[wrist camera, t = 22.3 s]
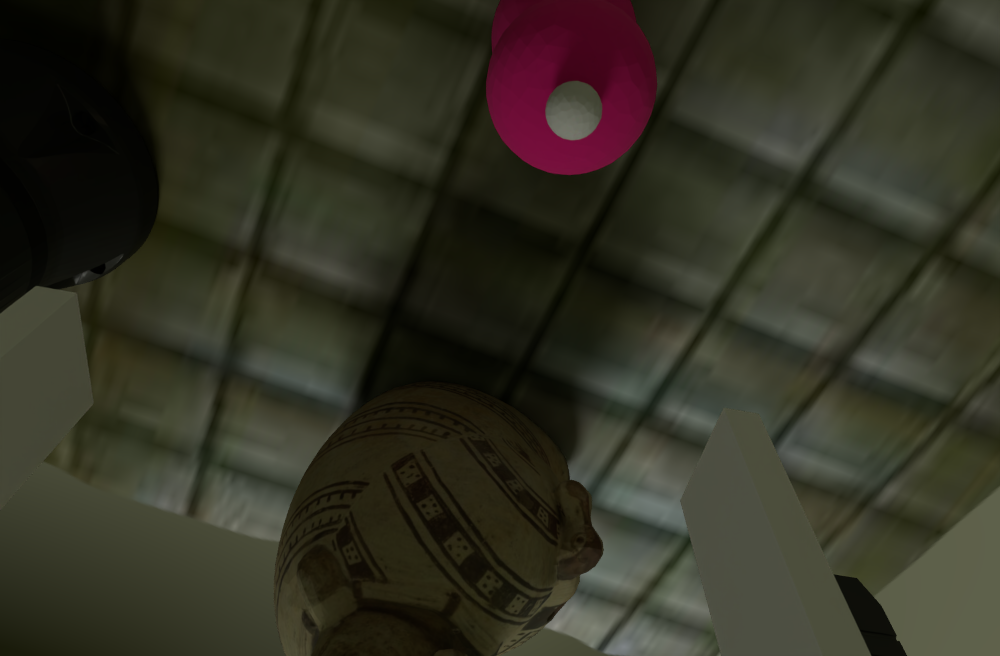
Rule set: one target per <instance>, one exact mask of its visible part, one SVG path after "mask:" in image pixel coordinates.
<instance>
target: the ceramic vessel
mask: <svg viewBox="0 0 1000 656" xmlns="http://www.w3.org/2000/svg"><path fill="white" fill-rule="evenodd" d="M591 509H592V497H591V495H590V493H589V492H588V491H587V490H586V489H585V487H584V486H583V485H582V484H581V483H579V482H577V481H574V480H570V476H569V469H568V465H567V462H566V459H565V457H564V456H563V454H562V452H561V451H560V449H559V448H558V447H557V445H556V444H555V443H554V442H553V441H552V440H551V438H550V437H549V436H548V435H547V434H546V433H545V432H544V431H542V430H541V429H540V428H539V427H538V426H537V425H535V424H534V423H533V422H532V421H531V420H530V419H528V418H527V417H526V416H525V415H523V414H522V413H521V412H519V411H518V410H516V409H515V408H513V407H512V406H510V405H508V404H506V403H504V402H503V401H501V400H499V399H497V398H495V397H493V396H491V395H488V394H486V393H483V392H481V391H478V390H476V389H473V388H469V387H466V386H462V385H459V384H455V383H448V382H435V381H425V382H415V383H411V384H408V385H404V386H400V387H396V388H393V389H391V390H389V391H387V392H385V393H383V394H381V395H379V396H377V397H376V398H374V399H372V400H370V401H369V402H367V403H366V404H365V405H363V406H362V407H361V408H360V409H358V410H357V411H356V412H354V413H353V414H352V415H351V416H350V417H349V418H348V419H346V420H345V421H344V422H343V423H342V424H341V425H340V427H339V428H338V429H337V430H336V431H335V432H334V433H333V434H332V435H331V436H330V437H329V439H328V440H327V441H326V442H325V444H324V445H323V446H322V447H321V449H320V450H319V452H318V453H317V455H316V456H315V458H314V459H313V461H312V462H311V464H310V465H309V467H308V469H307V470H306V472H305V474H304V476H303V478H302V479H301V482H300V484H299V486H298V488H297V490H296V493H295V495H294V497H293V499H292V502H291V504H290V507H289V510H288V514H287V517H286V520H285V523H284V526H283V530H282V534H281V538H280V542H279V547H278V553H277V558H276V564H275V576H274V607H275V616H276V624H277V629H278V633H279V638H280V642H281V645H282V647H283V650H284V652H285V654H286V656H499V655H501V654H503V653H506V652H508V651H510V650H512V649H514V648H516V647H518V646H520V645H522V644H523V643H524V642H526V641H527V640H529V639H530V638H532V637H533V636H534V635H536V634H537V633H538V632H539V631H540V630H541V629H542V628H544V626H545V625H546V624H547V623H549V622H550V621H551V620H552V619H553V617H554V616H555V615H556V613H557V612H558V611H559V610H560V609H561V608H562V607H563V606H564V604H565V603H566V602H567V601H568V600H569V599H570V598H571V597H572V596H573V595H574V593H575V591H576V589H577V586H578V584H579V582H580V575H581V574H583V573H586V572H588V571H589V570H591V569H592V568H593V567H595V566H596V564H597V563H598V561H599V560H600V558H601V557H602V555H603V551H604V549H603V542H602V540H601V538H600V537H599V535H598V534H597V532H596V531H595V529H594V528H593V527H592V523H591V517H590V516H591Z"/></svg>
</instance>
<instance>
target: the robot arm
mask: <svg viewBox="0 0 1000 656" xmlns="http://www.w3.org/2000/svg"><path fill="white" fill-rule="evenodd" d="M157 203H158V193H157V182H156V176H155V172H154V168H153V164H152V161H151V158H150V155H149V153H148V150H147V148H146V146H145V143H144V141H143V140H142V138H141V136H140V134H139V132H138V130H137V129H136V127H135V125H134V124H133V122H132V121H131V119H130V118H129V116H128V115H127V114H126V113H125V111H124V110H123V109H122V107H121V106H120V105H119V104H118V103H117V101H116V100H115V99H114V98H113V97H112V96H111V95H110V94H109V93H108V92H107V91H106V90H105V89H104V88H103V87H102V86H101V85H100V84H99V83H97V82H96V81H95V80H94V79H93V78H91V77H90V76H89V75H87V74H86V73H85V72H84V71H82V70H81V69H79V68H78V67H76V66H75V65H73V64H72V63H70V62H68V61H67V60H65V59H63V58H61V57H59V56H57V55H55V54H53V53H51V52H49V51H46V50H44V49H41V48H39V47H36V46H33V45H30V44H26V43H22V42H18V41H13V40H6V39H0V510H1V509H2V508H3V507H4V505H5V504H6V503H7V502H8V501H9V500H10V499H11V497H12V496H13V495H14V494H15V493H16V492H17V491H18V489H19V488H20V487H21V486H22V485H23V484H24V482H25V481H26V480H27V479H28V478H29V477H30V475H31V474H32V473H33V472H34V471H35V470H36V469H37V467H38V466H39V465H40V464H41V463H42V462H43V461H44V460H45V458H46V457H47V456H48V455H49V454H50V453H51V452H52V450H53V449H54V448H55V447H56V446H57V445H58V444H59V442H60V441H61V440H62V439H63V438H64V437H65V436H66V434H67V433H68V432H69V431H70V430H71V429H72V428H73V426H74V425H75V424H76V423H77V422H78V421H79V420H80V418H81V417H82V416H83V415H84V414H85V413H86V412H87V410H88V409H89V408H90V407H91V406H92V405H93V396H92V389H91V383H90V376H89V370H88V363H87V356H86V350H85V343H84V337H83V330H82V324H81V317H80V310H79V304H78V297H77V293H74V292H68V291H62V290H58V289H62V288H67V287H71V286H75V285H79V284H83V283H87V282H90V281H93V280H96V279H98V278H100V277H102V276H104V275H106V274H108V273H110V272H111V271H113V270H114V269H116V268H117V267H118V266H119V265H121V264H122V263H123V262H124V261H126V260H127V259H128V258H129V257H131V256H132V255H133V254H134V253H135V252H136V251H137V250H138V249H139V248H140V247H141V246H142V245H143V244H144V242H145V241H146V239H147V237H148V236H149V234H150V232H151V229H152V227H153V224H154V221H155V217H156V212H157ZM680 501H681V505H682V509H683V513H684V517H685V520H686V524H687V528H688V532H689V535H690V539H691V543H692V547H693V551H694V554H695V558H696V562H697V566H698V569H699V573H700V577H701V581H702V585H703V588H704V592H705V596H706V600H707V603H708V607H709V611H710V615H711V619H712V622H713V626H714V630H715V634H716V638H717V641H718V645H719V649H720V653H721V656H907V655H906V653H905V651H904V649H903V647H902V645H901V643H900V641H897V640H896V633H895V631H894V630H893V628H892V626H891V624H890V622H889V620H888V618H887V616H886V614H885V612H884V610H883V608H882V606H881V605H880V604H879V603H878V601H877V600H876V599H875V598H874V597H873V596H872V595H871V594H870V592H869V591H868V590H867V589H866V588H865V587H864V586H863V584H862V583H861V582H860V581H859V580H858V579H857V578H852V577H846V576H840V575H834V574H833V572H832V570H831V568H830V566H829V564H828V562H827V560H826V557H825V555H824V553H823V551H822V549H821V547H820V545H819V542H818V540H817V538H816V536H815V534H814V532H813V530H812V527H811V525H810V523H809V521H808V519H807V517H806V514H805V512H804V510H803V508H802V506H801V504H800V502H799V499H798V497H797V495H796V493H795V491H794V489H793V487H792V484H791V482H790V480H789V478H788V476H787V474H786V472H785V469H784V467H783V465H782V463H781V461H780V459H779V457H778V454H777V452H776V450H775V448H774V446H773V444H772V441H771V439H770V437H769V435H768V433H767V431H766V429H765V426H764V424H763V422H762V420H761V418H760V416H759V414H756V413H751V412H745V411H739V410H734V409H728V408H723V410H722V412H721V414H720V417H719V419H718V421H717V423H716V425H715V427H714V429H713V432H712V434H711V436H710V438H709V440H708V442H707V444H706V447H705V449H704V451H703V453H702V455H701V457H700V459H699V462H698V464H697V466H696V468H695V470H694V472H693V475H692V477H691V479H690V481H689V483H688V485H687V487H686V490H685V492H684V494H683V496H682V498H681V500H680Z"/></svg>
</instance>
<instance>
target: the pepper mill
mask: <svg viewBox="0 0 1000 656" xmlns="http://www.w3.org/2000/svg"><path fill="white" fill-rule="evenodd" d="M492 53H493V54H492V56H491V59H490V62H489V69H488V75H487V81H486V97H487V102H488V107H489V112H490V115H491V118H492V121H493V123H494V126H495V128H496V130H497V132H498V134H499V135H500V137H501V139H502V140H503V141H504V143H505V144H506V145H507V146H508V147H509V148H510V149H511V150H512V151H513V152H514V153H515V154H516V155H517V156H518V157H520V158H521V159H522V160H523V161H525V162H526V163H528V164H530V165H531V166H533V167H535V168H538V169H541V170H543V171H546V172H549V173H554V174H564V175H574V174H583V173H588V172H591V171H594V170H598V169H600V168H602V167H605V166H607V165H609V164H611V163H612V162H614V161H615V160H616V159H618V158H619V157H620V156H622V155H623V154H624V153H625V152H627V151H628V150H629V149H630V148H631V146H632V145H633V144H634V143H635V141H636V140H637V139H638V138H639V137H640V135H641V134H642V132H643V130H644V128H645V126H646V124H647V122H648V120H649V118H650V116H651V113H652V110H653V106H654V103H655V98H656V90H657V76H656V67H655V61H654V56H653V53H652V50H651V47H650V45H649V42H648V40H647V39H646V37H645V35H644V33H643V32H642V30H641V29H640V27H639V25H638V24H637V23H636V17H635V13H634V9H633V6H632V4H631V1H630V0H500V2H499V4H498V7H497V9H496V12H495V16H494V20H493V26H492Z"/></svg>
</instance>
